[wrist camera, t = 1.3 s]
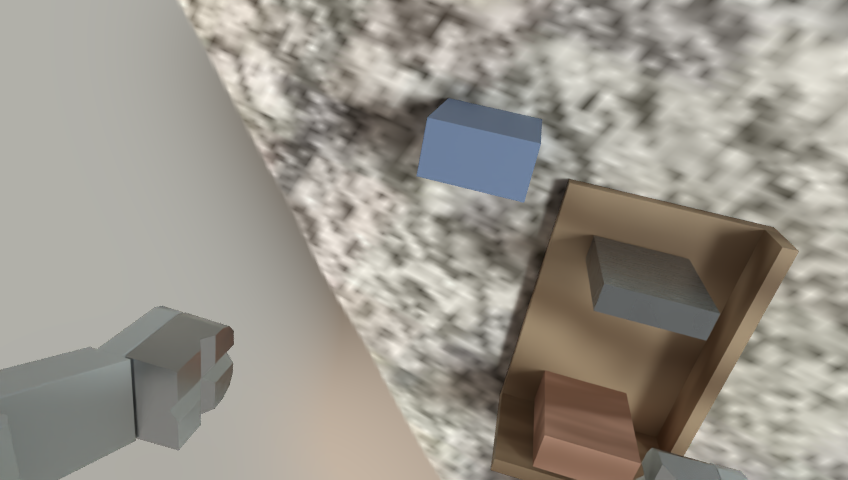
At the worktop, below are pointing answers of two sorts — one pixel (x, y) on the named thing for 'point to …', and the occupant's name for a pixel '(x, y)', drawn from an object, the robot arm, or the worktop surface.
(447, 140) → the blue block
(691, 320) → the bookend
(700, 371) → the rack
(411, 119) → the worktop surface
